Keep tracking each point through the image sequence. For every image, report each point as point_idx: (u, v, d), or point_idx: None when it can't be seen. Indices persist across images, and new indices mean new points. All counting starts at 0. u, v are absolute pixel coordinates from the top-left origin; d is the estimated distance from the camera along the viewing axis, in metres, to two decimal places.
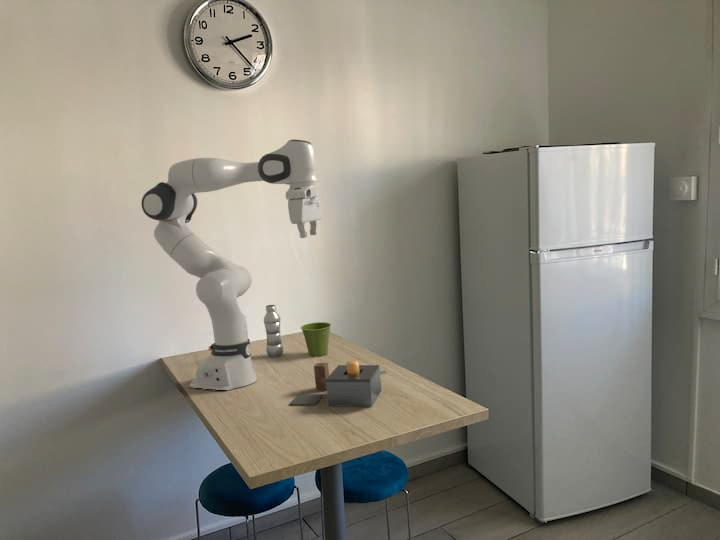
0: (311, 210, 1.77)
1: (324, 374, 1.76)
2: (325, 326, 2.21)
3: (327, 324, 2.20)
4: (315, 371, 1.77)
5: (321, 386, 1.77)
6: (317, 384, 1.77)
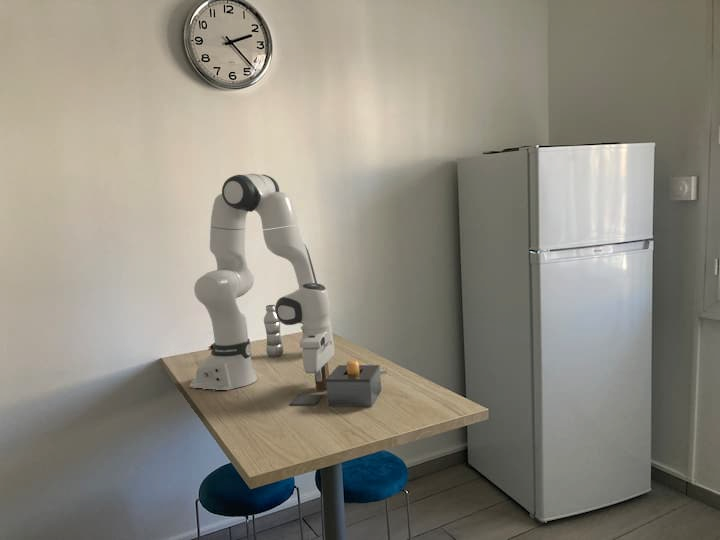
0: (325, 353, 1.77)
1: (324, 374, 1.76)
2: None
3: None
4: None
5: (321, 386, 1.77)
6: (317, 384, 1.77)
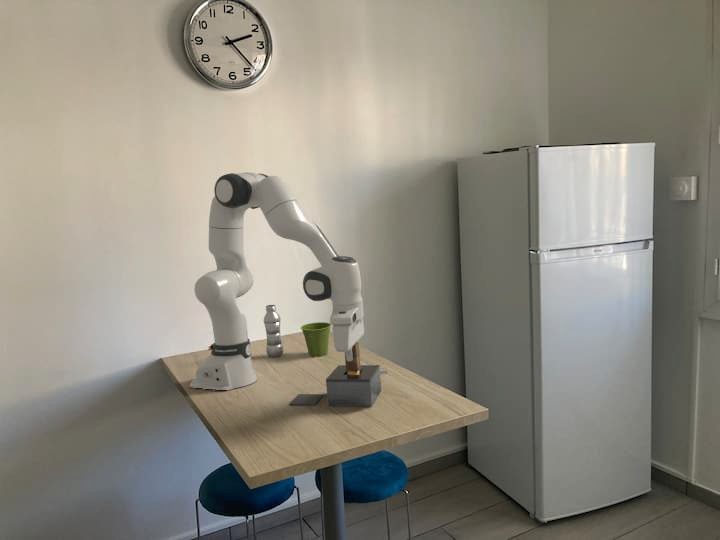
0: (355, 331, 1.65)
1: (355, 353, 1.65)
2: (325, 326, 2.21)
3: (327, 324, 2.20)
4: None
5: (352, 366, 1.65)
6: (347, 364, 1.66)
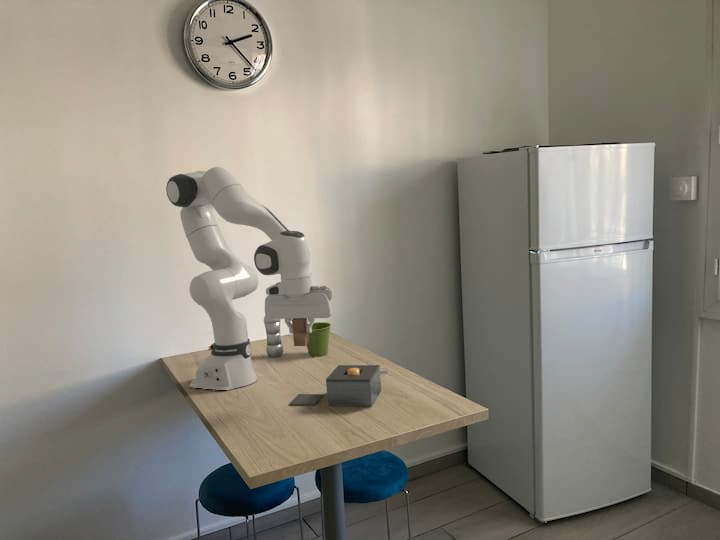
0: (295, 307, 1.64)
1: (293, 328, 1.66)
2: (325, 326, 2.21)
3: (327, 324, 2.20)
4: None
5: None
6: None
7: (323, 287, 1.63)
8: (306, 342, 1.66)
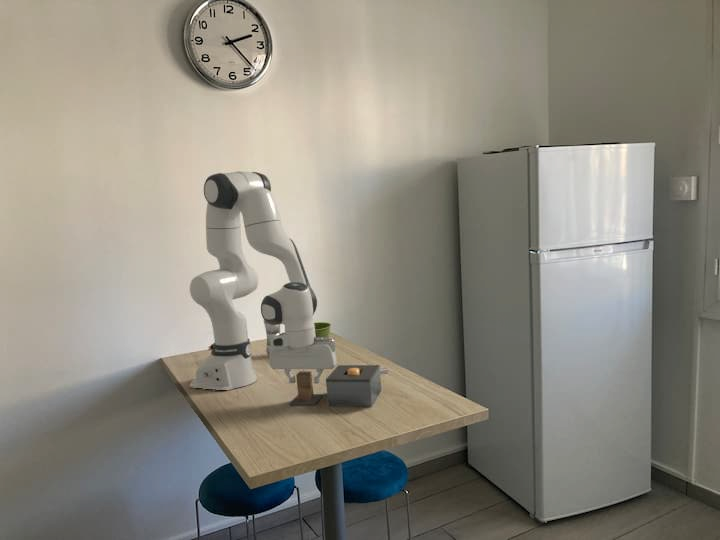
0: (299, 358, 1.66)
1: None
2: (325, 326, 2.21)
3: (327, 324, 2.20)
4: None
5: None
6: None
7: (327, 339, 1.65)
8: (310, 397, 1.68)
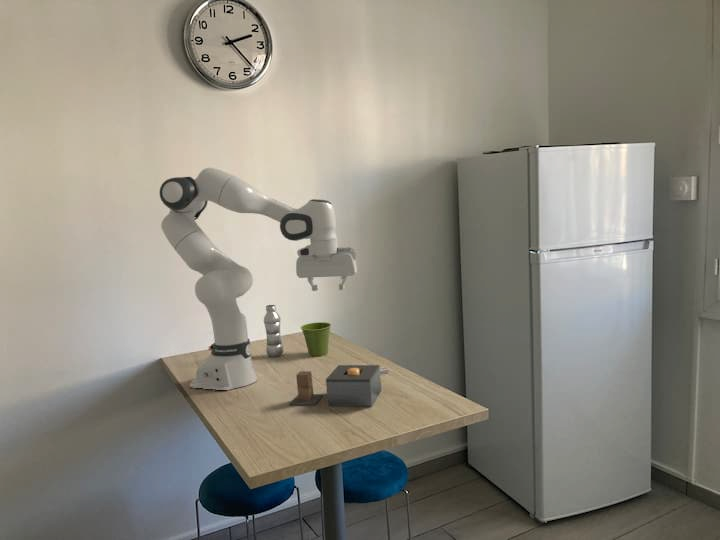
0: (324, 266, 1.86)
1: None
2: (325, 326, 2.21)
3: (327, 324, 2.20)
4: None
5: None
6: None
7: (348, 248, 1.84)
8: (310, 397, 1.68)
